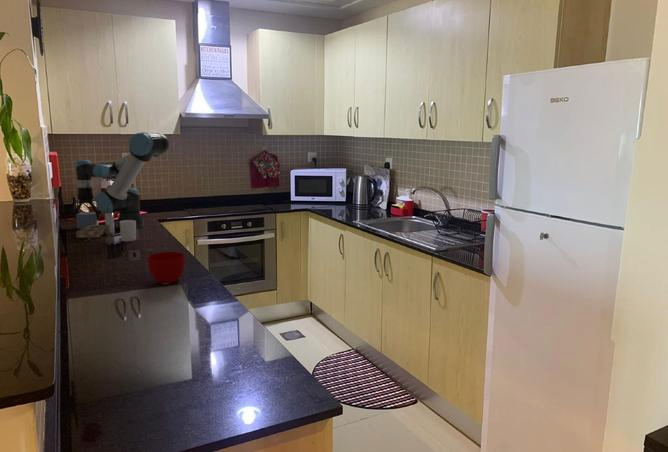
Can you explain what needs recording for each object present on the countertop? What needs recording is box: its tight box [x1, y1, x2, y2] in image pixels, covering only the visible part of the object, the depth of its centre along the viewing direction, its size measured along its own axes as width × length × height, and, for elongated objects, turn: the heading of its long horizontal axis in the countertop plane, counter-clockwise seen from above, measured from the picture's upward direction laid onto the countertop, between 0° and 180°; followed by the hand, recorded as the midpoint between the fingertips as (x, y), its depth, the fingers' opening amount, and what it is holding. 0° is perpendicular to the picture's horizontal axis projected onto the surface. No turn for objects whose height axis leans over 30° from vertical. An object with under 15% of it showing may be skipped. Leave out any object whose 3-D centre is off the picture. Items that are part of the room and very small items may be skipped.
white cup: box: [119, 220, 137, 243], centre depth 255 cm, size 8×8×10 cm
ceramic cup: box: [147, 251, 185, 284], centre depth 184 cm, size 13×17×10 cm
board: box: [75, 224, 106, 239], centre depth 271 cm, size 11×20×3 cm, turn 10°
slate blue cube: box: [75, 211, 96, 230], centre depth 287 cm, size 9×9×8 cm
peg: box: [104, 212, 116, 237], centre depth 268 cm, size 4×4×12 cm
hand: (87, 225), depth 287 cm, fingers open, 9 cm apart
